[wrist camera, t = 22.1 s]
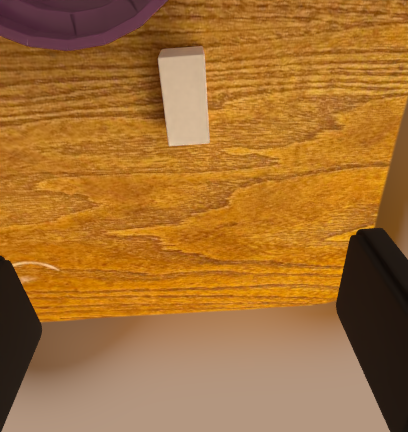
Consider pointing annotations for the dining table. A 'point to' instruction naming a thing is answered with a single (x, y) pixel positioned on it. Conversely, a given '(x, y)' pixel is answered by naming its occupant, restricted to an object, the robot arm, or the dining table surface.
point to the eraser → (184, 95)
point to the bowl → (72, 21)
